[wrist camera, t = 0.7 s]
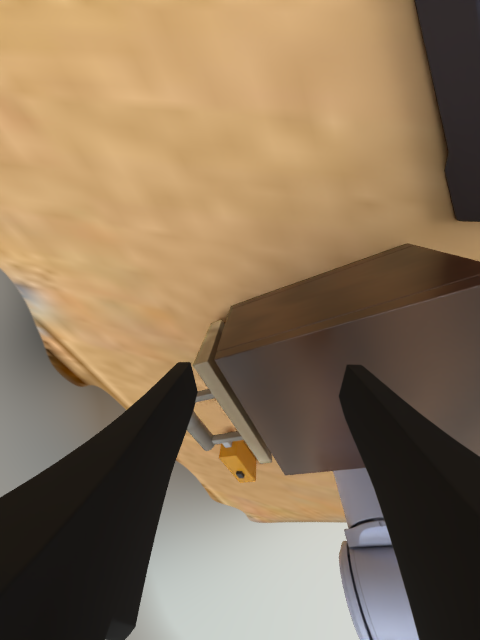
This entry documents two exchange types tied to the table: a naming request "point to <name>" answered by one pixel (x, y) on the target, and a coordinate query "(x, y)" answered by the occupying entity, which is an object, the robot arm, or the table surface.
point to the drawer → (223, 402)
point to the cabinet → (357, 352)
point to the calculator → (457, 93)
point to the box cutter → (239, 460)
